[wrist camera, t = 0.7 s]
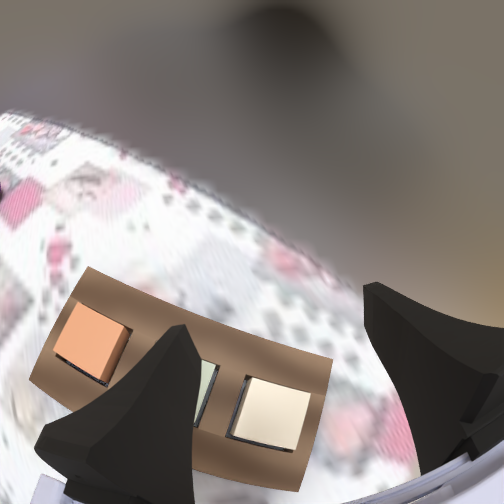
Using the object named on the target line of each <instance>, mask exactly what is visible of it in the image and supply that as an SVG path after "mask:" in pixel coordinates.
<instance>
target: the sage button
mask: <svg viewBox="0 0 504 504" xmlns="http://www.w3.org/2000/svg"><path fill="white" fill-rule="evenodd" d="M156 342H157V341H156ZM215 366H216V365H215V364H212V363H209V362H206V361H204V360H202V372H201V384H200V390H199V396H198V402H197V408H196V413H195V419H194V423H195V421H196V418H197V415H198V413H199V410H200V407H201V405H202V402H203V399H204V396H205V394H206V391H207V388H208V385H209V383H210V380H211V377H212V374H213V372H214V369H215Z"/></svg>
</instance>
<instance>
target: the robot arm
mask: <svg viewBox="0 0 504 504" xmlns="http://www.w3.org/2000/svg"><path fill="white" fill-rule="evenodd" d="M363 295H364V327H365V329H366V332H367V334H368V337H369V339H370V342H371V344H372V346H373V348H374V350H375V352H376V353H377V355H378V357H379V359H380V361H381V362H382V364H383V366H384V368H385V369H386V371H387V373H388V375H389V377H390V378H391V380H392V382H393V384H394V386H395V388H396V390H397V392H398V395H399V397H400V400H401V403H402V405H403V408H404V411H405V414H406V417H407V420H408V423H409V426H410V429H411V433H412V437H413V440H414V444H415V448H416V452H417V457H418V462H419V467H420V472H421V476H420V477H418V478H416V479H413V480H411V481H409V482H406V483H404V484H401V485H399V486H396V487H393V488H391V489H388V490H385V491H382V492H380V493H377V494H374V495H370V496H367V497H364V498H361V499H357V500H354V501H350V502H346V503H342V504H408V503H410V502H412V501H415V500H417V499H419V498H421V499H420V500H418V501H416V502H414V503H412V504H504V328H498V327H491V326H485V325H480V324H476V323H471V322H467V321H464V320H460V319H457V318H454V317H451V316H448V315H445V314H443V313H440V312H437V311H435V310H433V309H431V308H428V307H426V306H424V305H422V304H420V303H418V302H416V301H414V300H412V299H410V298H407V297H406V296H404V295H402V294H400V293H398V292H396V291H394V290H393V289H391V288H389V287H387V286H385V285H383V284H381V283H379V282H374V283H370V284H367V285H363ZM201 372H202V359H201V357H200V355H199V353H198V351H197V349H196V347H195V345H194V342H193V340H192V338H191V336H190V334H189V332H188V329H187V327H186V325H185V324H182V325H175V326H171V327H170V328H169V329H168V330H167V331H166V332H165V333H164V334H163V335H162V337H161V338H160V339H159V340H158V341H157V342H156V343H155V344H154V346H153V347H152V348H151V349H150V350H149V351H148V352H147V353H146V354H145V356H144V357H143V358H142V359H141V360H140V361H139V362H138V363H137V364H136V365H135V366H134V367H133V368H132V369H131V370H130V371H129V372H128V373H127V374H126V375H125V376H124V377H123V378H122V379H120V380H119V381H118V382H117V383H116V384H115V385H113V386H112V387H111V388H110V389H109V390H107V391H106V392H105V393H103V394H102V395H100V396H99V397H97V398H96V399H95V400H93V401H92V402H90V403H89V404H87V405H85V406H84V407H82V408H80V409H79V410H77V411H75V412H73V413H71V414H69V415H67V416H65V417H63V418H61V419H58V420H56V421H54V422H51V423H49V424H46V425H45V426H44V428H43V430H42V432H41V434H40V436H39V438H38V440H37V442H36V444H35V446H34V449H35V452H36V453H37V455H38V456H39V457H40V458H41V459H42V460H43V461H45V462H46V463H47V464H48V465H50V466H51V467H52V468H53V469H55V470H56V471H57V472H59V473H60V474H62V475H63V476H64V477H66V478H67V479H68V480H67V482H66V484H65V483H63V482H61V481H59V480H57V479H54V478H52V477H49V476H47V475H45V474H41V475H40V478H39V480H38V483H37V486H36V488H35V491H34V494H33V497H32V500H31V503H30V504H195V500H194V492H193V477H192V435H193V425H194V419H195V413H196V408H197V402H198V396H199V390H200V384H201ZM430 493H431V494H430ZM428 494H429V495H428ZM426 495H427V496H426ZM424 496H425V497H424ZM422 497H423V498H422Z"/></svg>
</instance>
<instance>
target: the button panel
mask: <svg viewBox="0 0 504 504" xmlns="http://www.w3.org/2000/svg"><path fill="white" fill-rule="evenodd" d="M77 302H79V303H81V304H83V305H85V306H86V307H88V308H90V309H92V310H94V311H96V312H97V313H99V314H101V315H103V316H105V317H107V318H109V319H111V320H113V321H115V322H117V323H119V324H121V325H123V326H124V327H125V328H126V330H127V331H128V333H130V334H131V337H130V339H129V341H128V343H127V345H126V347H125V349H124V352H123V354H122V356H121V358H120V360H119V363H118V365H117V367H116V369H115V372H114V374H113V376H112V378H111V381H110V383H109V385H108V387H106V386H104V385H103V384H101V383H99V382H97V381H95V380H94V379H92V378H90V377H89V376H87V375H85V374H84V373H82V372H80V371H79V370H77V369H76V368H74V367H72V366H71V365H69V364H68V363H66V361H67V359H65V358H64V357H62V356H61V355H59V354H58V353H56V352H55V351H53V349H54V347H55V344H56V342H57V340H58V338H59V336H60V334H61V332H62V330H63V328H64V326H65V324H66V323H67V321H68V319H69V317H70V315H71V313H72V311H73V309H74V308H75V306H76V304H77ZM182 324H185V325H186V327H187V329H188V332H189V334H190V336H191V338H192V340H193V342H194V345H195V347H196V349H197V351H198V353H199V355H200V357H201V359H202V360H204V361H206V362H209V363H212V364H215V365H216V366H215V369H216V370H218V373H217V376H216V378H215V381H214V384H213V387H212V389H211V392H210V395H209V398H208V401H207V403H206V406H205V409H204V412H203V414H202V417H201V420H200V423H199V425H198V427H195V426H193V435H192V469H194V470H197V471H200V472H204V473H207V474H210V475H214V476H217V477H221V478H225V479H229V480H233V481H237V482H241V483H246V484H250V485H255V486H260V487H266V488H272V489H278V490H285V491H293V492H299V489H300V486H301V483H302V480H303V477H304V474H305V470H306V467H307V464H308V461H309V457H310V454H311V451H312V447H313V444H314V440H315V436H316V433H317V429H318V425H319V421H320V417H321V413H322V409H323V405H324V401H325V396H326V392H327V387H328V383H329V378H330V373H331V368H332V363H333V359H330V358H327V357H323V356H319V355H316V354H312V353H309V352H306V351H302V350H299V349H296V348H292V347H289V346H286V345H283V344H280V343H276V342H273V341H270V340H267V339H264V338H261V337H258V336H255V335H252V334H249V333H246V332H244V331H241V330H238V329H235V328H232V327H229V326H227V325H224V324H221V323H218V322H216V321H213V320H210V319H208V318H205V317H203V316H200V315H197V314H195V313H192V312H190V311H187V310H185V309H182V308H180V307H177V306H175V305H172V304H170V303H168V302H165V301H163V300H160V299H158V298H156V297H153V296H151V295H149V294H146V293H144V292H142V291H140V290H137V289H135V288H133V287H131V286H129V285H126V284H124V283H122V282H120V281H118V280H116V279H113V278H111V277H109V276H107V275H105V274H103V273H101V272H99V271H97V270H95V269H93V268H91V267H89V266H88V267H87V269H86V270H85V272H84V273H83V275H82V277H81V278H80V280H79V281H78V283H77V285H76V286H75V288H74V290H73V292H72V293H71V295H70V297H69V298H68V300H67V302H66V304H65V306H64V307H63V309H62V311H61V313H60V315H59V317H58V318H57V320H56V322H55V324H54V326H53V328H52V330H51V332H50V334H49V336H48V338H47V340H46V342H45V344H44V346H43V348H42V351H41V353H40V355H39V357H38V359H37V362H36V364H35V366H34V368H33V371H32V373H31V376H30V378H29V380H30V381H31V382H32V383H33V384H35V385H36V386H37V387H38V388H40V389H41V390H42V391H44V392H45V393H46V394H48V395H49V396H50V397H52V398H53V399H55V400H56V401H58V402H59V403H60V404H62V405H63V406H65V407H66V408H68V409H69V410H71V411H72V412H75V411H77V410H79V409H80V408H82V407H84V406H85V405H87V404H89V403H90V402H92V401H93V400H95V399H96V398H97V397H99V396H100V395H102V394H103V393H105V392H106V391H107V390H109V389H110V388H111V387H112V386H113V385H115V384H116V383H117V382H118V381H119V380H120V379H122V378H123V377H124V376H125V375H126V374H127V373H128V372H129V371H130V370H131V369H132V368H133V367H134V366H135V365H136V364H137V363H138V362H139V361H140V360H141V359H142V358H143V357H144V356H145V354H146V353H147V352H148V351H149V350H150V349H151V348H152V347H153V346H154V344H155V343H156V341H158V340H159V339H160V338H161V337H162V335H163V334H164V333H165V332H166V331H167V330H168V329H169V328H170V327H171V326H175V325H182ZM252 377H253V378H256V379H260V380H263V381H266V382H270V383H273V384H277V385H280V386H284V387H288V388H291V389H295V390H299V391H303V392H307V393H311V395H310V399H309V403H308V407H307V411H306V415H305V418H304V422H303V426H302V429H301V433H300V436H299V440H298V443H297V447H296V450H293V449H287V448H284V451H282V450H277V449H273V448H268V447H264V446H259V445H255V444H251V443H247V442H244V441H240V440H236V439H233V438H229V437H226V436H225V435H226V432H227V429H228V426H229V423H230V420H231V418H232V415H233V412H234V409H235V406H236V403H237V400H238V397H239V394H240V391H241V388H242V384H243V381H244V379H245V380H250V379H251V378H252Z"/></svg>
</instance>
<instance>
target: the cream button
mask: <svg viewBox="0 0 504 504" xmlns="http://www.w3.org/2000/svg"><path fill="white" fill-rule="evenodd" d="M310 395H311V393H307V392H303V391H299V390H295V389H291V388H288V387H284V386H280V385H277V384H273V383H270V382H266V381H263V380H260V379H256V378H253V377H252V378H251V379H250V380H248V381H247V383H246V386H245V389H244V392H243V395H242V398H241V401H240V404H239V407H238V410H237V413H236V416H235V419H234V422H233V425H232V428H231V431H230V434H231V435H233V436H237V437H241V438H244V439H248V440H252V441H256V442H260V443H264V444H268V445H273V446H278V447H282V448H287V449H293V450H296V447H297V443H298V440H299V436H300V433H301V429H302V426H303V422H304V418H305V415H306V411H307V407H308V403H309V399H310Z"/></svg>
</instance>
